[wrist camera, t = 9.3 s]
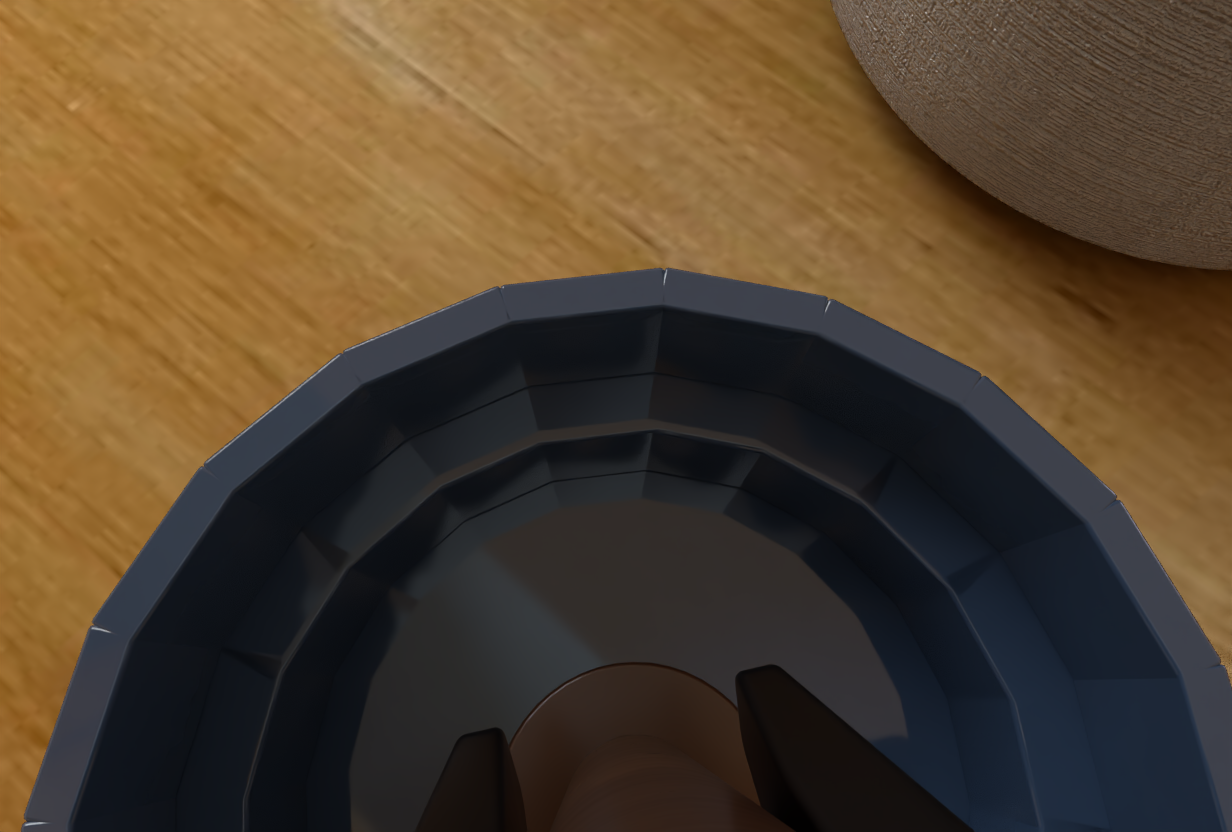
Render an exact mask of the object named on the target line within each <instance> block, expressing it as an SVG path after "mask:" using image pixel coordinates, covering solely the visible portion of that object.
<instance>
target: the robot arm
mask: <svg viewBox="0 0 1232 832" xmlns="http://www.w3.org/2000/svg"><path fill="white" fill-rule="evenodd" d="M735 687H736V696H737V705H738V713H739V722H740V731H741V737H742V742H743V747H744V751H745V755H746V758H747V762H748V765H749V768H750V772H751V775H752V778H753V782H754V785H755V788H756V792H757V795H758V798H759V802H760V805H761V807H762V808H763V809H764V810H766V811H767V812H769V813H770V814H772V815H773V816H774V817H776V818H777V819H779V820H780V821H782V822H783V823H784V824H786V825H787V826H789V827H790V828H792V829H793V830H794V831H796V832H975V831H974V830H973V829H972V828H970V827H969V826H968V825H967V824H966V823H965V822H963V821H962V820H961V819H960V818H959V817H957V816H956V815H955V814H954V813H953V812H952V811H950V810H949V809H948V808H947V807H946V806H944V805H943V804H942V803H941V802H940V801H939V800H937V799H936V798H935V797H934V796H933V795H931V794H930V793H929V792H928V791H927V790H926V789H924V788H923V787H922V786H921V785H920V784H918V783H917V782H916V781H915V780H914V779H912V778H911V777H910V776H909V775H908V774H907V773H905V772H904V771H903V770H902V769H901V768H899V767H898V766H897V765H896V764H895V763H894V762H892V761H891V760H890V759H889V758H888V757H886V756H885V755H884V754H883V753H882V752H881V751H879V750H878V749H877V748H876V747H875V746H873V745H872V744H871V743H870V742H869V741H868V740H866V739H865V738H864V737H863V736H862V735H860V734H859V733H858V732H857V731H856V730H855V729H853V728H852V727H851V726H850V725H849V724H847V723H846V722H845V721H844V720H843V719H841V718H840V717H839V716H838V715H837V714H836V713H834V712H833V711H832V710H831V709H830V708H828V707H827V706H826V705H825V704H824V703H823V702H821V701H820V700H819V699H818V698H817V697H815V696H814V695H813V694H812V693H811V692H810V691H808V690H807V689H806V688H805V687H804V686H802V685H801V684H800V683H799V682H798V681H797V680H795V679H794V678H793V677H792V676H791V675H789V674H788V673H787V672H786V671H785V670H784V669H782V668H781V667H780V666H778V665H774V664H769V665H765V666H760V667H756V668H751V669H747V670H743V671H740V672H739V673H738V674H737V675H736V678H735ZM414 832H528V831H527V824H526V816H525V809H524V802H523V797H522V792H521V787H520V783H519V780H518V777H517V773H516V770H515V766H514V763H513V759H512V756H511V752H510V749H509V746H508V742H507V739H506V736H505V733H504V731H503V730H502V729H500V728H497V727H494V728H489V729H485V730H481V731H476V732H472V733H468V734H464V735H462V736H461V737H460V738H459V739H458V740H457V741H456V743H455V745H454V747H453V750H452V752H451V754H450V756H449V758H448V760H447V762H446V765H445V767H444V769H443V771H442V773H441V775H440V777H439V780H438V782H437V784H436V786H435V788H434V790H433V793H432V795H431V797H430V799H429V801H428V803H427V805H426V808H425V810H424V812H423V814H422V816H421V818H420V820H419V823H418V825H417V827H416V829H415V831H414Z"/></svg>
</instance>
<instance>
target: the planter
mask: <svg viewBox="0 0 1232 832" xmlns="http://www.w3.org/2000/svg"><path fill="white" fill-rule="evenodd" d="M830 2H831V4H832V7H833V10H834V12H835V15H836V18H837V20H838V23H839V26H840V28H841V30H842V32H843V34H844V36H845V38H846V40H847V42H848V44H849V47H850V49H851V50H852V52H853V54H854V55H855V57H856V59H857V60H858V62H859V64H860V65H861V67H862V69H863V70H864V72H865V73H866V75H867V76H868V78H869V79H870V80H871V82H872V83H873V85H874V86H875V87H876V89H877V90H878V92H879V93H880V95H881V96H882V97H883V98H884V99H885V101H886V102H887V103H888V104H889V106H890V107H891V108H892V109H893V111H894V112H895V113H896V114H897V115H898V117H899V118H900V119H901V120H902V121H903V122H904V123H905V124H906V125H907V126H908V127H909V128H910V129H911V131H912V132H913V133H914V134H915V135H916V136H917V137H918V138H919V139H920V140H921V141H922V142H923V143H925V144H926V145H927V146H928V147H929V148H930V149H931V150H932V151H934V152H935V153H936V154H937V155H938V156H939V157H940V158H941V159H943V160H944V161H945V162H946V163H948V164H949V165H950V166H952V167H953V168H954V169H955V170H957V171H958V172H959V173H961V174H962V175H963V176H964V177H966V178H967V179H969V180H970V181H971V182H973V183H974V184H976V185H977V186H979V187H980V188H982V189H983V190H985V191H986V192H987V193H989V194H990V195H992V196H993V197H995V198H997V199H998V200H1000V201H1002V202H1004V203H1005V204H1007V205H1009V206H1010V207H1012V208H1014V209H1015V210H1017V211H1019V212H1021V213H1023V214H1025V215H1027V216H1029V217H1031V218H1033V219H1035V220H1037V221H1039V222H1041V223H1043V224H1045V225H1047V226H1049V227H1051V228H1054V229H1056V230H1059V231H1061V232H1063V233H1066V234H1068V235H1071V236H1073V237H1075V238H1078V239H1081V240H1083V241H1086V242H1089V243H1092V244H1095V245H1098V246H1100V247H1103V248H1106V249H1109V250H1112V251H1116V252H1120V253H1123V254H1127V255H1130V256H1134V257H1138V258H1141V259H1146V260H1151V261H1156V262H1162V263H1167V264H1172V265H1179V266H1187V267H1195V268H1203V269H1216V270H1230V271H1232V0H830Z"/></svg>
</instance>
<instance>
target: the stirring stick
mask: <svg viewBox="0 0 1232 832" xmlns="http://www.w3.org/2000/svg"><path fill="white" fill-rule="evenodd" d="M509 749H510V752H511V756H512V759H513V763H514V766H515V770H516V773H517V777H518V780H519V783H520V787H521V792H522V797H523V802H524V809H525V816H526V824H527V831H528V832H796V831H794V830H793V829H792V828H790V827H789V826H787V825H786V824H784V823H783V822H782V821H780V820H779V819H777V818H776V817H774V816H773V815H772V814H770V813H769V812H767V811H766V810H764V809H763V808H762V807H761V805H760V802H759V798H758V795H757V792H756V788H755V785H754V782H753V778H752V775H751V772H750V768H749V765H748V762H747V758H746V755H745V751H744V747H743V742H742V737H741V731H740V722H739V713H738V708H737V706H736V705H735V704H734V703H733V702H732V701H731V700H730V699H728V698H727V697H726V696H725V695H724V694H723V693H721V692H720V691H719V690H718V689H716V688H715V687H713V686H712V685H710V684H709V683H707V682H706V681H704V680H703V679H701V678H699V677H696V676H694V675H692V674H690V673H688V672H686V671H683V670H680V669H677V668H674V667H671V666H667V665H662V664H656V663H651V662H623V663H614V664H609V665H605V666H601V667H597V668H594V669H591V670H589V671H586V672H583V673H581V674H579V675H577V676H575V677H573V678H571V679H569V680H567V681H566V682H564V683H562V684H561V685H560V686H558V687H557V688H555V689H554V690H553V691H551V692H550V693H549V694H548V695H546V696H545V697H544V698H543V699H542V700H541V701H540V702H539V703H538V704H537V705H536V706H535V707H534V708H533V709H532V711H531V712H530V713H529V714H528V715H527V717H526V718H525V719H524V720H523V722H522V723H521V725H520V726H519V728H518V729H517V731H516V733H515V734H514V736H513V738H512V740H511V742H510V744H509Z"/></svg>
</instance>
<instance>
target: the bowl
mask: <svg viewBox="0 0 1232 832" xmlns="http://www.w3.org/2000/svg"><path fill="white" fill-rule="evenodd" d="M1116 498H1117V495H1116V494H1115V493H1114V492H1113V491H1112V490H1111V489H1110V488H1109V487H1108V486H1106V485H1105V484H1104V483H1103V482H1102V481H1101V480H1100V479H1099V478H1098V477H1097V476H1095V475H1094V474H1093V473H1092V472H1091V471H1090V470H1089V469H1088V468H1087V467H1086V466H1084V465H1083V464H1082V463H1081V462H1080V461H1079V460H1078V459H1077V458H1076V457H1075V456H1073V455H1072V454H1071V453H1070V452H1069V451H1068V450H1067V449H1066V448H1065V447H1064V446H1062V445H1061V444H1060V443H1059V442H1058V441H1057V440H1056V439H1055V438H1054V437H1053V436H1051V435H1050V434H1049V433H1048V432H1047V431H1046V430H1045V429H1044V428H1043V427H1042V426H1041V425H1039V424H1038V423H1037V422H1036V421H1035V420H1034V419H1033V418H1032V417H1031V416H1030V415H1028V414H1027V413H1026V412H1025V411H1024V410H1023V409H1022V408H1021V407H1020V406H1019V405H1017V404H1016V403H1015V402H1014V401H1013V400H1012V399H1011V398H1010V397H1009V396H1008V395H1006V394H1005V393H1004V392H1003V391H1002V390H1001V389H1000V388H999V387H998V386H997V385H995V384H994V383H993V382H992V381H991V380H990V379H989V378H988V377H986V376H982V377H981V373H980V372H978V371H976V370H974V369H972V368H970V367H968V366H966V365H964V364H962V363H960V362H958V361H956V360H954V359H952V358H950V357H948V356H946V355H944V354H942V353H940V352H938V351H936V350H934V349H932V348H930V347H928V346H926V345H924V344H922V343H920V342H918V341H916V340H914V339H912V338H910V337H908V336H906V335H904V334H902V333H900V332H898V331H896V330H894V329H892V328H890V327H888V326H886V325H884V324H882V323H880V322H878V321H876V320H874V319H872V318H870V317H868V316H866V315H864V314H862V313H860V312H858V311H856V310H854V309H852V308H850V307H848V306H846V305H844V304H842V303H840V302H838V301H836V300H833V299H829V300H828V298H827V297H826V296H822V295H816V294H811V293H805V292H800V291H794V290H789V289H783V288H778V287H772V286H766V285H761V284H755V283H750V282H744V281H739V280H733V279H728V278H722V277H717V276H711V275H706V274H700V273H694V272H689V271H683V270H678V269H672V268H666V269H665V270H663V269H662V268H655V269H646V270H636V271H627V272H618V273H609V274H600V275H591V276H581V277H572V278H563V279H554V280H545V281H536V282H527V283H517V284H508V285H503V286H501V288H499V287H498V286H497V287H493V288H491V289H489V290H486V291H484V292H481V293H479V294H477V295H474V296H472V297H469V298H467V299H465V300H462V301H460V302H458V303H455V304H453V305H450V306H448V307H446V308H443V309H441V310H438V311H436V312H434V313H431V314H429V315H426V316H424V317H422V318H419V319H417V320H414V321H412V322H410V323H407V324H405V325H403V326H400V327H398V328H395V329H393V330H391V331H388V332H386V333H383V334H381V335H379V336H376V337H374V338H371V339H369V340H367V341H364V342H362V343H360V344H357V345H355V346H352V347H350V348H348V349H345V350H344V351H343V354H342V353H340V354H338V355H336V356H335V357H334V358H333V359H331V360H330V361H329V362H328V363H326V364H325V365H324V366H323V367H321V368H320V369H319V370H318V371H316V372H315V373H314V374H313V375H312V376H310V377H309V378H308V379H307V380H305V381H304V382H303V383H302V384H300V385H299V386H298V387H297V388H295V389H294V390H293V391H292V392H291V393H289V394H288V395H287V396H286V397H284V398H283V399H282V400H281V401H279V402H278V403H277V404H276V405H274V406H273V407H272V408H271V409H270V410H268V411H267V412H266V413H265V414H263V415H262V416H261V417H260V418H258V419H257V420H256V421H255V422H253V423H252V424H251V425H250V426H248V427H247V428H246V429H245V430H244V431H242V432H241V433H240V434H239V435H237V436H236V437H235V438H234V439H232V440H231V441H230V442H229V443H227V444H226V445H225V446H224V447H223V448H221V449H220V450H219V451H218V452H216V453H215V454H214V455H213V456H211V457H210V458H209V459H208V460H206V461H205V463H204V467H203V466H201V467H200V468H199V469H198V470H197V471H196V473H195V474H194V476H193V477H192V478H191V480H190V481H189V483H188V484H187V486H186V487H185V488H184V490H183V491H182V493H181V494H180V496H179V497H178V498H177V500H176V501H175V503H174V504H173V506H172V507H171V508H170V510H169V511H168V513H167V514H166V516H165V517H164V518H163V520H162V521H161V523H160V524H159V526H158V527H157V528H156V530H155V531H154V533H153V534H152V536H151V537H150V538H149V540H148V541H147V543H146V544H145V546H144V547H143V548H142V550H141V551H140V553H139V554H138V555H137V557H136V558H135V560H134V561H133V563H132V564H131V565H130V567H129V568H128V570H127V571H126V573H125V574H124V575H123V577H122V578H121V580H120V581H119V583H118V584H117V585H116V587H115V588H114V590H113V591H112V593H111V594H110V595H109V597H108V598H107V600H106V601H105V603H104V604H103V605H102V607H101V608H100V610H99V611H98V613H97V614H96V615H95V617H94V618H93V620H92V623H93V624H94V625H92V626H90V628H89V629H88V632H87V635H86V638H85V641H84V643H83V646H82V649H81V652H80V655H79V658H78V661H77V664H76V666H75V669H74V672H73V675H72V678H71V681H70V684H69V687H68V690H67V692H66V695H65V698H64V701H63V704H62V707H61V710H60V713H59V715H58V718H57V721H56V724H55V727H54V730H53V733H52V736H51V738H50V741H49V744H48V747H47V750H46V753H45V756H44V759H43V762H42V764H41V767H40V770H39V773H38V776H37V779H36V782H35V785H34V787H33V790H32V793H31V796H30V799H29V802H28V805H27V808H26V810H25V813H24V819H25V820H26V822H25V823H23V825H22V828H21V832H414V831H415V829H416V827H417V825H418V823H419V820H420V818H421V816H422V814H423V812H424V810H425V808H426V805H427V803H428V801H429V799H430V797H431V795H432V793H433V790H434V788H435V786H436V784H437V782H438V780H439V777H440V775H441V773H442V771H443V769H444V767H445V765H446V762H447V760H448V758H449V756H450V754H451V752H452V750H453V747H454V745H455V743H456V741H457V740H458V739H459V738H460V737H461V736H462V735H464V734H468V733H472V732H476V731H481V730H485V729H489V728H494V727H497V728H500V729H502V730H503V731H504V733H505V736H506V739H507V742H508V746H509V744H510V742H511V740H512V738H513V736H514V734H515V733H516V731H517V729H518V728H519V726H520V725H521V723H522V722H523V720H524V719H525V718H526V717H527V715H528V714H529V713H530V712H531V711H532V709H533V708H534V707H535V706H536V705H537V704H538V703H539V702H540V701H541V700H542V699H543V698H544V697H545V696H546V695H548V694H549V693H550V692H551V691H553V690H554V689H555V688H557V687H558V686H560V685H561V684H562V683H564V682H566V681H567V680H569V679H571V678H573V677H575V676H577V675H579V674H581V673H583V672H586V671H589V670H591V669H594V668H597V667H601V666H605V665H609V664H614V663H623V662H651V663H656V664H662V665H667V666H671V667H674V668H677V669H680V670H683V671H686V672H688V673H690V674H692V675H694V676H696V677H699V678H701V679H703V680H704V681H706V682H707V683H709V684H710V685H712V686H713V687H715V688H716V689H718V690H719V691H720V692H721V693H723V694H724V695H725V696H726V697H727V698H728V699H730V700H731V701H732V702H733V703H734V704H735V705H736V706H737V708H738V705H737V696H736V687H735V678H736V675H737V674H738V673H739V672H740V671H743V670H747V669H751V668H756V667H760V666H765V665H769V664H774V665H778V666H780V667H781V668H782V669H784V670H785V671H786V672H787V673H788V674H789V675H791V676H792V677H793V678H794V679H795V680H797V681H798V682H799V683H800V684H801V685H802V686H804V687H805V688H806V689H807V690H808V691H810V692H811V693H812V694H813V695H814V696H815V697H817V698H818V699H819V700H820V701H821V702H823V703H824V704H825V705H826V706H827V707H828V708H830V709H831V710H832V711H833V712H834V713H836V714H837V715H838V716H839V717H840V718H841V719H843V720H844V721H845V722H846V723H847V724H849V725H850V726H851V727H852V728H853V729H855V730H856V731H857V732H858V733H859V734H860V735H862V736H863V737H864V738H865V739H866V740H868V741H869V742H870V743H871V744H872V745H873V746H875V747H876V748H877V749H878V750H879V751H881V752H882V753H883V754H884V755H885V756H886V757H888V758H889V759H890V760H891V761H892V762H894V763H895V764H896V765H897V766H898V767H899V768H901V769H902V770H903V771H904V772H905V773H907V774H908V775H909V776H910V777H911V778H912V779H914V780H915V781H916V782H917V783H918V784H920V785H921V786H922V787H923V788H924V789H926V790H927V791H928V792H929V793H930V794H931V795H933V796H934V797H935V798H936V799H937V800H939V801H940V802H941V803H942V804H943V805H944V806H946V807H947V808H948V809H949V810H950V811H952V812H953V813H954V814H955V815H956V816H957V817H959V818H960V819H961V820H962V821H963V822H965V823H966V824H967V825H968V826H969V827H970V828H972V829H973V830H974V831H975V832H1232V687H1231V684H1230V680H1229V677H1228V673H1227V670H1226V668H1225V666H1224V665H1221V664H1220V663H1221V659H1220V657H1219V656H1218V654H1217V653H1216V651H1215V649H1214V648H1213V646H1212V645H1211V643H1210V641H1209V640H1208V638H1207V637H1206V635H1205V634H1204V632H1203V630H1202V629H1201V627H1200V626H1199V624H1198V622H1197V621H1196V619H1195V618H1194V616H1193V614H1192V613H1191V611H1190V610H1189V608H1188V606H1187V605H1186V603H1185V602H1184V600H1183V598H1182V597H1181V595H1180V594H1179V592H1178V591H1177V589H1176V587H1175V586H1174V584H1173V583H1172V581H1171V579H1170V578H1169V576H1168V575H1167V573H1166V571H1165V570H1164V568H1163V567H1162V565H1161V563H1160V562H1159V560H1158V559H1157V557H1156V555H1155V554H1154V552H1153V551H1152V549H1151V547H1150V546H1149V544H1148V543H1147V541H1146V540H1145V538H1144V536H1143V535H1142V533H1141V532H1140V530H1139V528H1138V527H1137V525H1136V524H1135V522H1134V520H1133V519H1132V517H1131V516H1130V514H1129V512H1128V511H1127V509H1126V508H1125V506H1124V504H1123V503H1122V502H1121V501H1120V500H1116Z"/></svg>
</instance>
